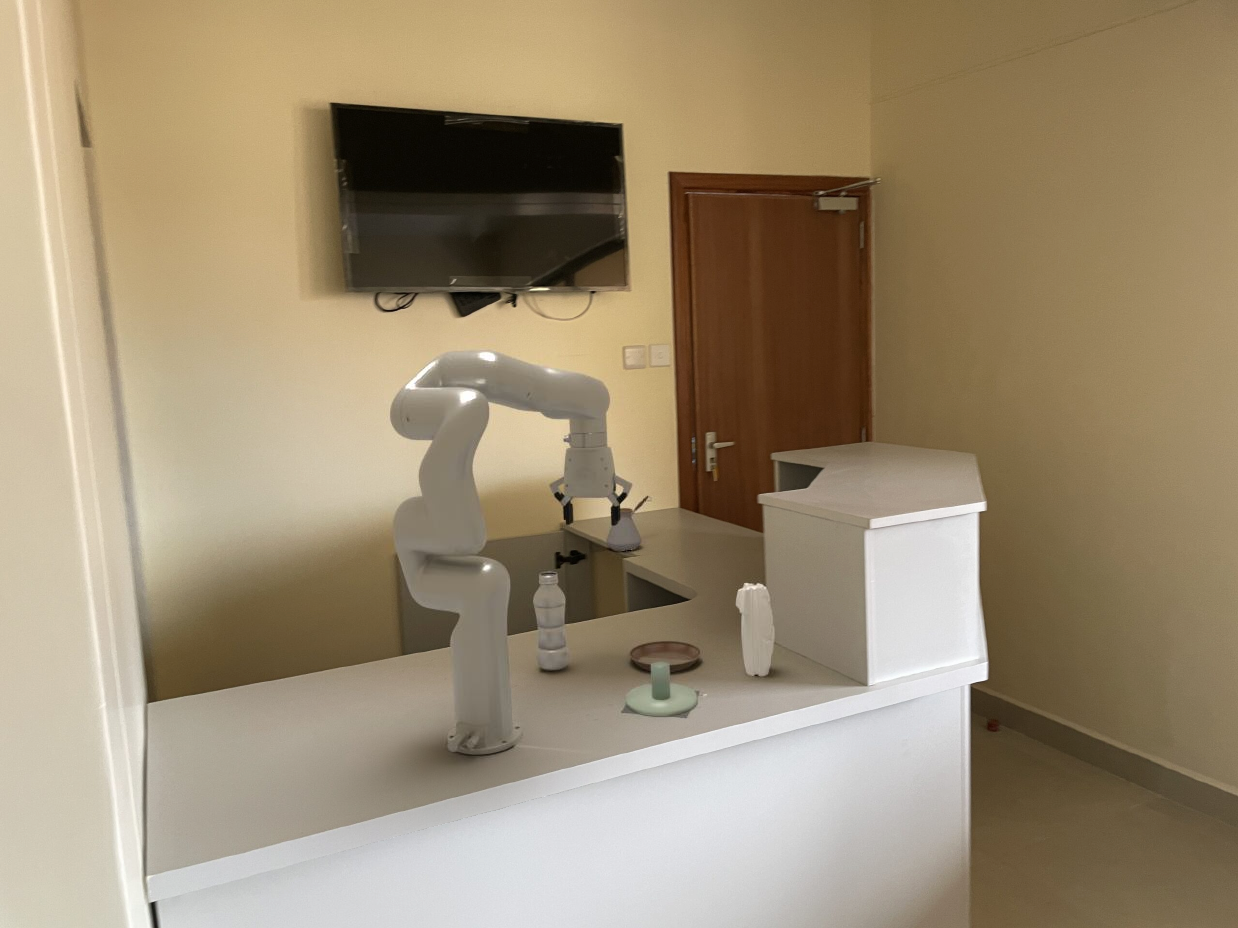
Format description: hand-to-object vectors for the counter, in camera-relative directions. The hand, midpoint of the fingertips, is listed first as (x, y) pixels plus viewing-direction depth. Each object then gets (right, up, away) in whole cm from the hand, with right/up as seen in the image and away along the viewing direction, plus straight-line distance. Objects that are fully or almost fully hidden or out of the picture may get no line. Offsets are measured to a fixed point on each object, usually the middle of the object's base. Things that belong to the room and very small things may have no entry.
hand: (592, 524), depth 180 cm
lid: (+13, -31, -19) cm, 39 cm away
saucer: (+15, -29, +1) cm, 33 cm away
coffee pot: (+10, -15, +107) cm, 109 cm away
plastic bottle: (-8, -30, +1) cm, 31 cm away
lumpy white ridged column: (+33, -29, -7) cm, 44 cm away
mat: (+13, -32, -19) cm, 39 cm away
